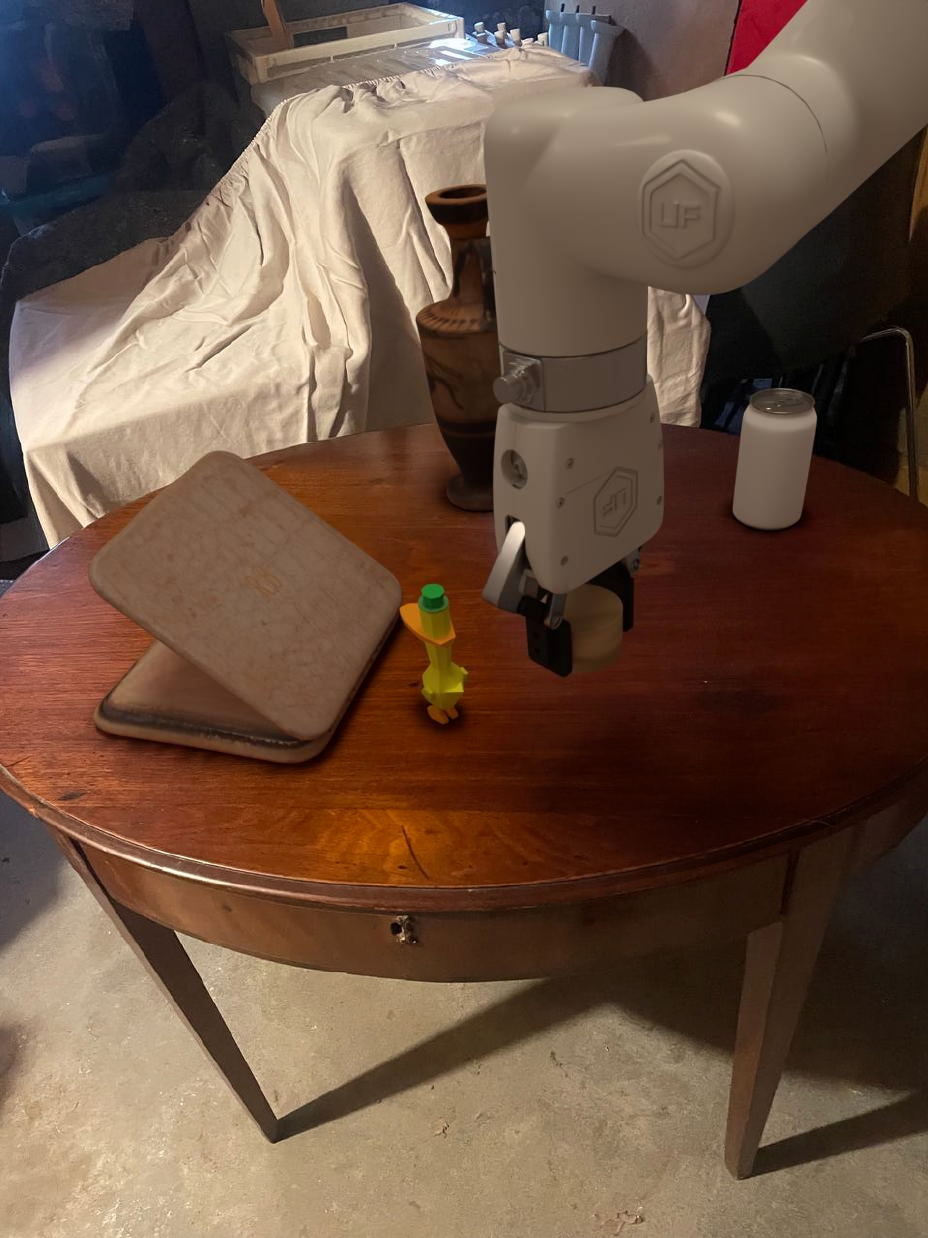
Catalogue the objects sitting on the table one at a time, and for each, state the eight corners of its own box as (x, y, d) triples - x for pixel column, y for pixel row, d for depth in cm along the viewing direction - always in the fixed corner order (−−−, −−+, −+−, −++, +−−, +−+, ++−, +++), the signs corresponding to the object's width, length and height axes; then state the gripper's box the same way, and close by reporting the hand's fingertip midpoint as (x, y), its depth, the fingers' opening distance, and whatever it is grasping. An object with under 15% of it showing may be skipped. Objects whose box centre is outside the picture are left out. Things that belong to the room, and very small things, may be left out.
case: (321, 777, 63) (274, 595, 53) (79, 734, 69) (-2, 563, 59) (416, 612, 78) (393, 448, 69) (212, 588, 84) (164, 434, 75)
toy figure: (399, 701, 69) (377, 574, 62) (435, 681, 71) (418, 555, 63) (449, 746, 64) (433, 615, 57) (487, 724, 66) (475, 593, 59)
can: (720, 506, 89) (732, 393, 82) (778, 494, 90) (795, 381, 82) (752, 537, 84) (767, 420, 76) (814, 524, 84) (834, 407, 77)
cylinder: (630, 629, 57) (630, 588, 55) (613, 679, 53) (612, 637, 52) (553, 619, 59) (550, 579, 57) (531, 667, 55) (528, 626, 53)
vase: (420, 486, 98) (383, 193, 80) (507, 460, 101) (490, 173, 83) (461, 528, 90) (430, 212, 72) (554, 499, 93) (546, 190, 75)
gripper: (509, 444, 39) (532, 742, 49) (730, 331, 47) (709, 605, 58) (401, 407, 43) (443, 686, 54) (620, 310, 52) (620, 567, 63)
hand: (581, 641), depth 56 cm, fingers closed on cylinder, 5 cm apart
